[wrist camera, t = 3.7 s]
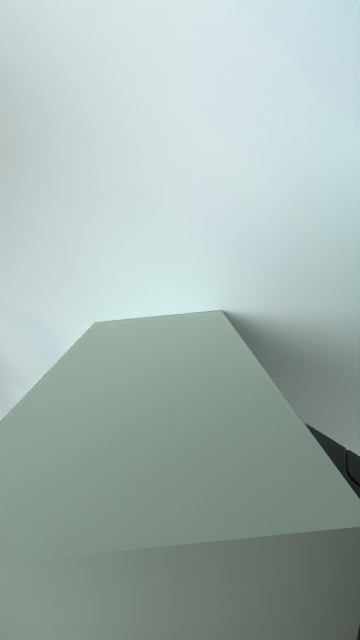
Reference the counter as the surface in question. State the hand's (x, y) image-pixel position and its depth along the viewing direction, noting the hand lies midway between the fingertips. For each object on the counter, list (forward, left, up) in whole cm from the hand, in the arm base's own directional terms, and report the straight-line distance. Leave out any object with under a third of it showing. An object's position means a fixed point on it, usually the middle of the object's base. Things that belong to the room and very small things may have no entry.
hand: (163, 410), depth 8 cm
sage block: (0, 0, -2) cm, 2 cm away
